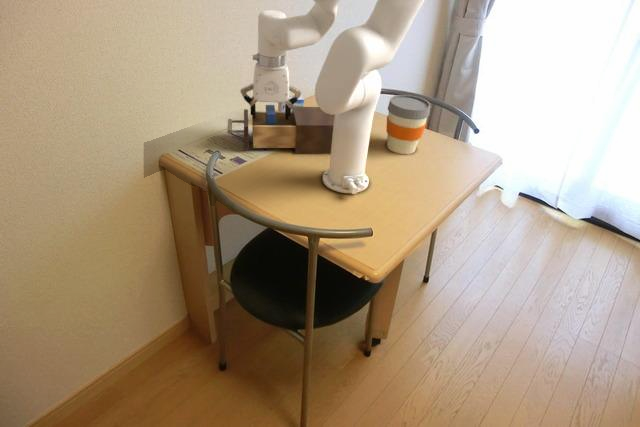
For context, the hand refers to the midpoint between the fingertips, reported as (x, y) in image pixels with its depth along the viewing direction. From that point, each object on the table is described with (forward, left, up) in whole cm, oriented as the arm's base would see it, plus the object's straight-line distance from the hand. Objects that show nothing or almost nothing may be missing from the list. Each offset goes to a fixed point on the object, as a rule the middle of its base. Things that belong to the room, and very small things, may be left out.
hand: (270, 117), depth 132 cm
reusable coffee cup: (-10, -40, -8) cm, 42 cm away
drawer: (0, +1, -7) cm, 7 cm away
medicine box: (+14, -10, -8) cm, 19 cm away
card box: (0, 0, -6) cm, 6 cm away
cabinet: (-3, -16, -8) cm, 18 cm away
